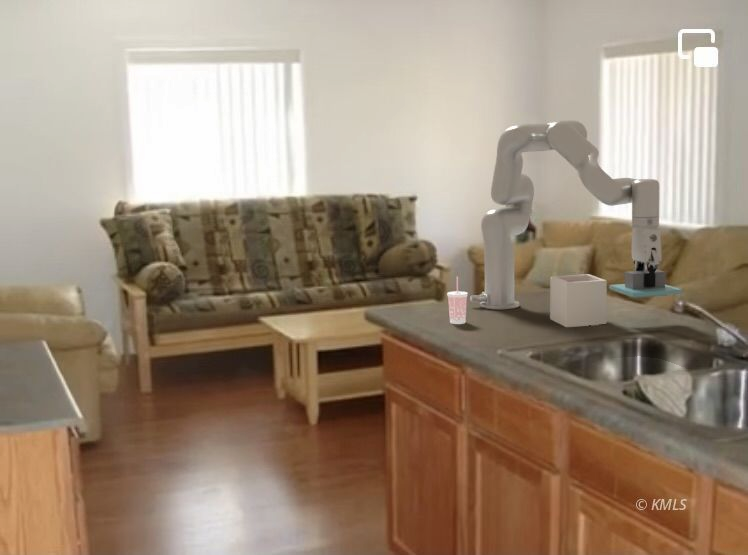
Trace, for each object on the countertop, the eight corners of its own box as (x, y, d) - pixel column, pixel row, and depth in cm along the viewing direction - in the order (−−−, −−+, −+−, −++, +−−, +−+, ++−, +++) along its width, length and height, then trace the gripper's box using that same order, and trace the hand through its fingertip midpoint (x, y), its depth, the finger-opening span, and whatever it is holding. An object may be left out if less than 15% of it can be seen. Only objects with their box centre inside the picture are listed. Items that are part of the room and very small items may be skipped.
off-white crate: (566, 327, 290) (566, 282, 287) (550, 319, 302) (550, 276, 299) (606, 324, 292) (606, 280, 290) (588, 316, 304) (589, 274, 302)
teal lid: (632, 300, 280) (632, 277, 279) (609, 291, 294) (609, 269, 293) (681, 296, 283) (682, 273, 282) (656, 288, 297) (656, 266, 296)
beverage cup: (471, 321, 301) (470, 275, 299) (463, 325, 296) (462, 278, 293) (452, 319, 304) (451, 274, 301) (444, 323, 298) (443, 277, 296)
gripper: (672, 224, 278) (671, 289, 281) (643, 219, 294) (643, 280, 297) (647, 226, 276) (646, 291, 279) (620, 220, 293) (619, 282, 296)
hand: (645, 284), depth 288 cm, fingers closed on teal lid, 5 cm apart
